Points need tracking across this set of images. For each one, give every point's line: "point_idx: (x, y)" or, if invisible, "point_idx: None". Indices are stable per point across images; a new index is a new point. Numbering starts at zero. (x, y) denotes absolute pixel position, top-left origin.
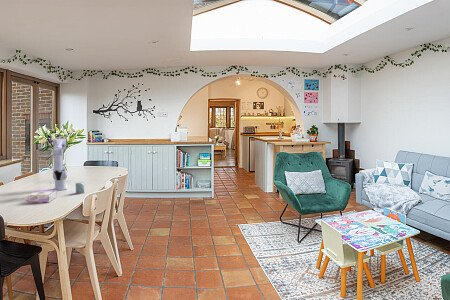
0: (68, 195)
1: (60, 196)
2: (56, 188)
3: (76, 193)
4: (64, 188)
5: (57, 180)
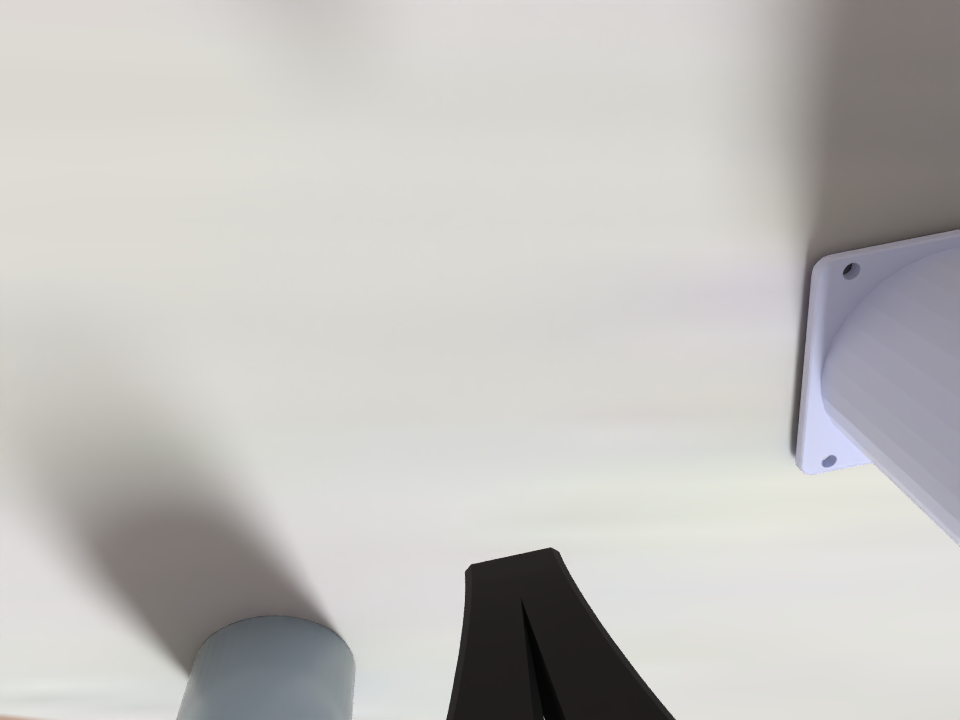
0: (94, 505)
1: (13, 353)
2: (921, 280)
3: (227, 631)
4: (848, 441)
5: (465, 573)
